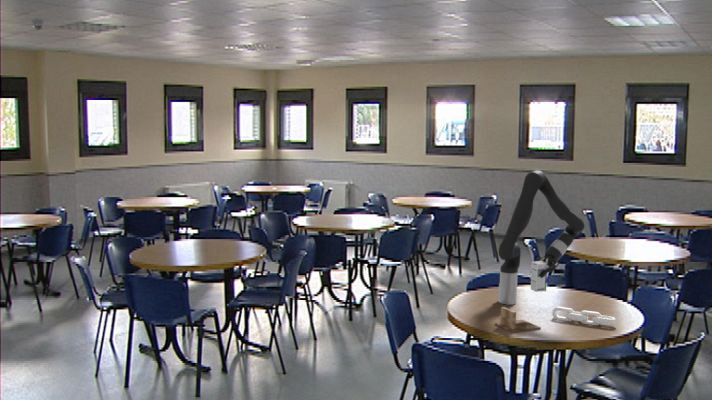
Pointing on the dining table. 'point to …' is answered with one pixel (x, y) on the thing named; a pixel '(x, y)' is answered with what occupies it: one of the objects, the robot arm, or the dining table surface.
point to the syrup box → (536, 281)
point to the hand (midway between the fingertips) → (536, 275)
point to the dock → (514, 322)
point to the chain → (583, 316)
